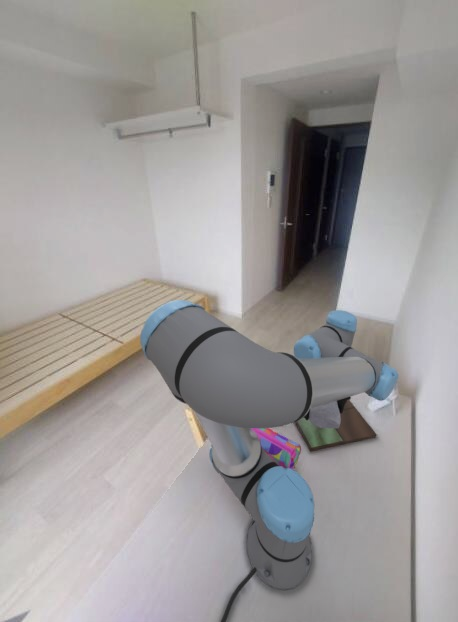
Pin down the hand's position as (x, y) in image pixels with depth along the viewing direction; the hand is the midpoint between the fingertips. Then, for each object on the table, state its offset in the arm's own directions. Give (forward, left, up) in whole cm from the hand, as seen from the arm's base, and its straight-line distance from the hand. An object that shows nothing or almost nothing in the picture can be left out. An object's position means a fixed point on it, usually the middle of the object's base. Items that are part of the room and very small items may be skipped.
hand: (322, 413), depth 89 cm
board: (+6, +6, -9) cm, 13 cm away
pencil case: (-20, -2, -10) cm, 23 cm away
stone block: (0, 0, 0) cm, 1 cm away
